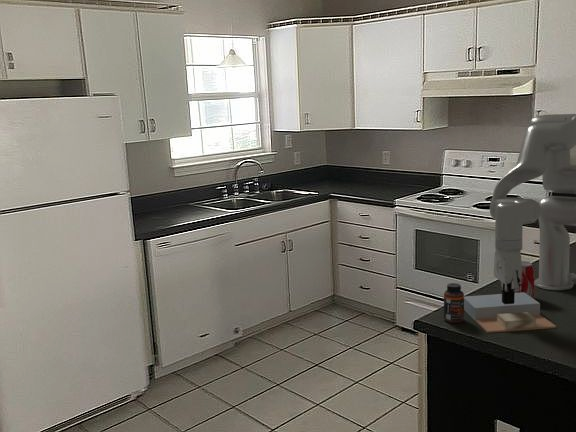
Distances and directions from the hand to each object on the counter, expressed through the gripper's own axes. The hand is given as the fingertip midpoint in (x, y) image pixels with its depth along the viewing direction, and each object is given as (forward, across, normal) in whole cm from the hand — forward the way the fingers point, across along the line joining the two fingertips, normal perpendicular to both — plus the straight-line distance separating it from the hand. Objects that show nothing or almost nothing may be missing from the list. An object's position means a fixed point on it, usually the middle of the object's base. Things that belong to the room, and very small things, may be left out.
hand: (508, 303), depth 177 cm
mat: (+5, +4, 0) cm, 7 cm away
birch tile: (+3, +6, 0) cm, 7 cm away
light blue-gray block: (+5, -6, 0) cm, 8 cm away
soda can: (+5, -17, +12) cm, 21 cm away
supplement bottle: (+5, -2, -16) cm, 17 cm away
